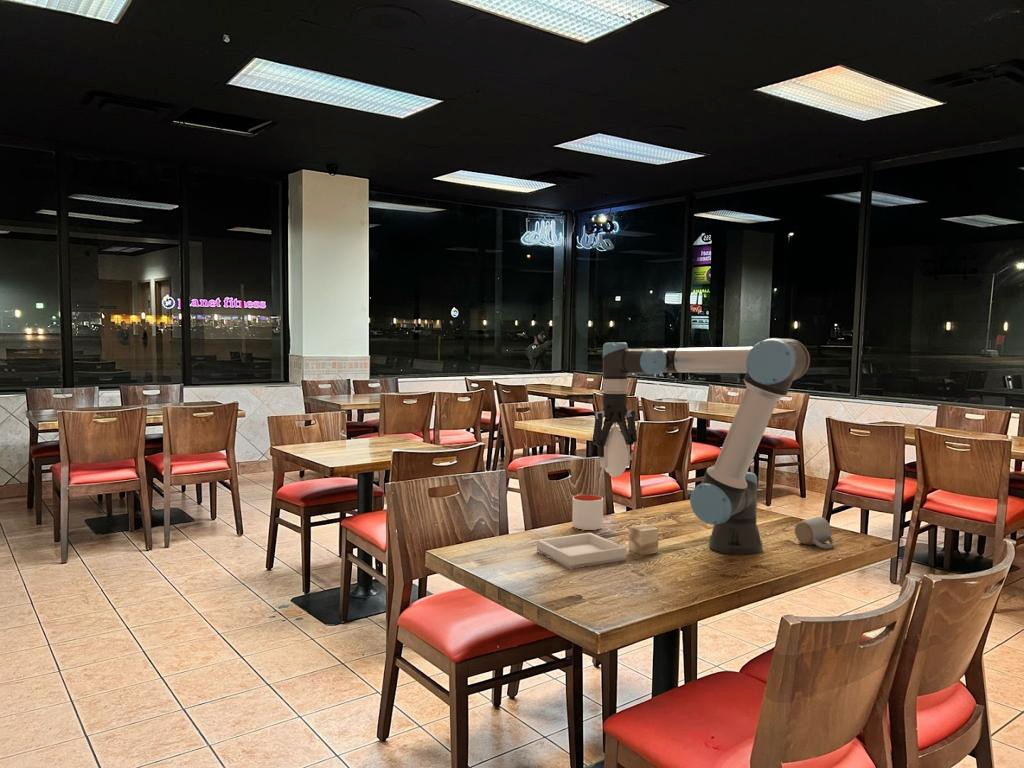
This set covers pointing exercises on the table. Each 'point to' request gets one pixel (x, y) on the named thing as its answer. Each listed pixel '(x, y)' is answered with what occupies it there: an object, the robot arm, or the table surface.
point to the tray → (581, 550)
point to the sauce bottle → (616, 452)
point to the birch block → (643, 539)
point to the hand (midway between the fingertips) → (614, 466)
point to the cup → (587, 512)
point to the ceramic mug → (814, 532)
